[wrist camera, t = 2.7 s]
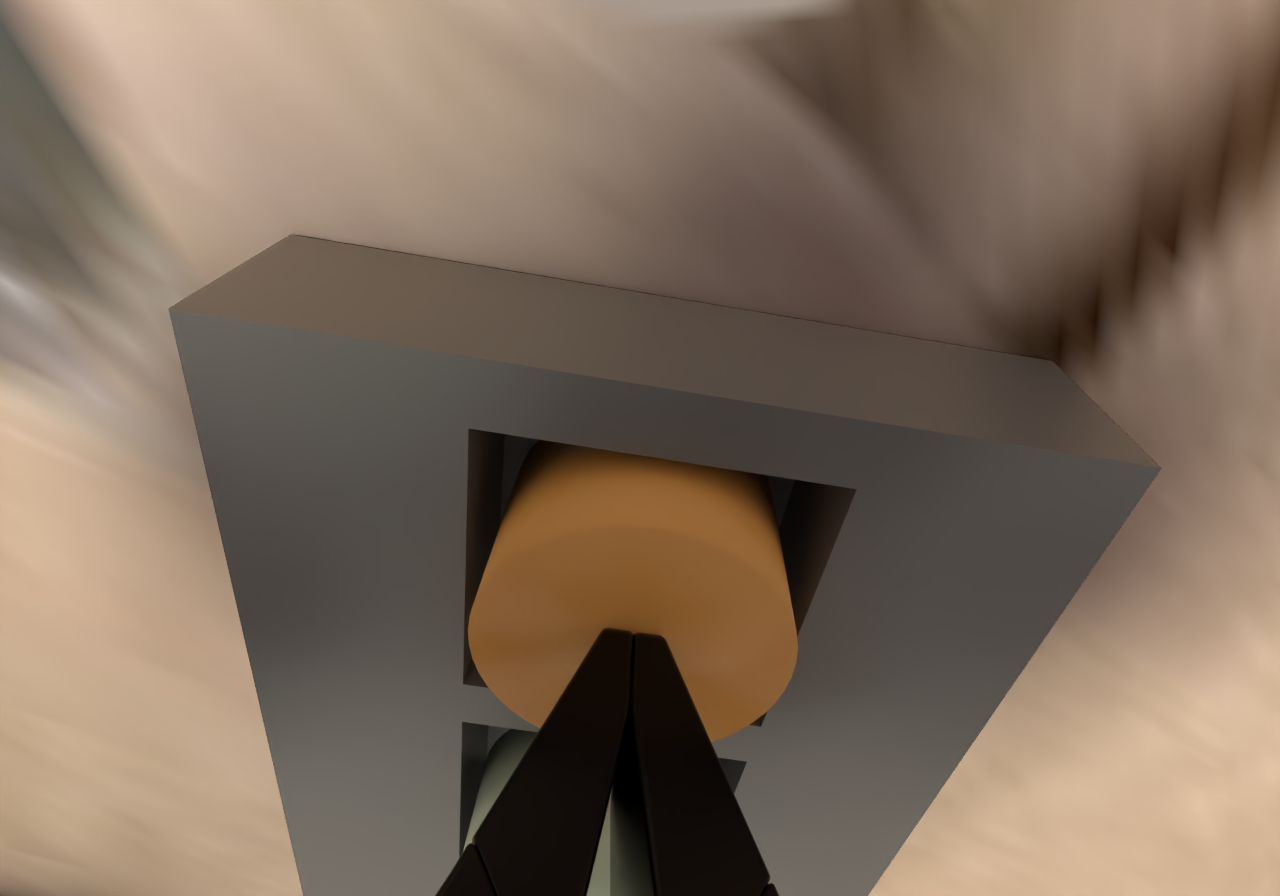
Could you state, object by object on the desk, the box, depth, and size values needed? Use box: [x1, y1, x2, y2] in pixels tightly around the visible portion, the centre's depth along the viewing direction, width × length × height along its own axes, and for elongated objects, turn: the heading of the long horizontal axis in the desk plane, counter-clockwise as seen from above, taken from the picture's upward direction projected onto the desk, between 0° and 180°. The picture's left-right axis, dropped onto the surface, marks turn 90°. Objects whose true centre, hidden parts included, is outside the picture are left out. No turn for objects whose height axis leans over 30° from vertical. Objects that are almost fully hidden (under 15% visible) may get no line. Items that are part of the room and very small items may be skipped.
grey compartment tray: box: [169, 235, 1161, 896], centre depth 15 cm, size 19×12×3 cm, turn 171°
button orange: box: [468, 440, 798, 742], centre depth 11 cm, size 4×4×3 cm
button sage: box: [463, 729, 611, 896], centre depth 13 cm, size 4×4×3 cm
